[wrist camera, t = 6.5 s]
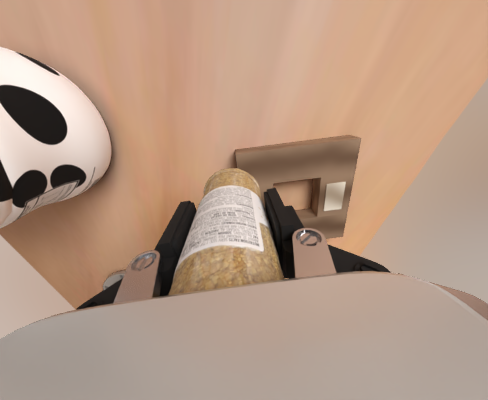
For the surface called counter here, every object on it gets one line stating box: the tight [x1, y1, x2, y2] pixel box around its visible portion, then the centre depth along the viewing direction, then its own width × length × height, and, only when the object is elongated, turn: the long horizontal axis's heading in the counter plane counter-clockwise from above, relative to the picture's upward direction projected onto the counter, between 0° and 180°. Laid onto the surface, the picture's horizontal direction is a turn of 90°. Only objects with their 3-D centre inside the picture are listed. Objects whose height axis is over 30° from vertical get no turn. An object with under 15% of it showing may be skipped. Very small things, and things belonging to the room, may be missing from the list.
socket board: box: [235, 135, 361, 239], centre depth 31 cm, size 18×18×3 cm
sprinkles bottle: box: [168, 168, 284, 295], centre depth 9 cm, size 5×5×13 cm
